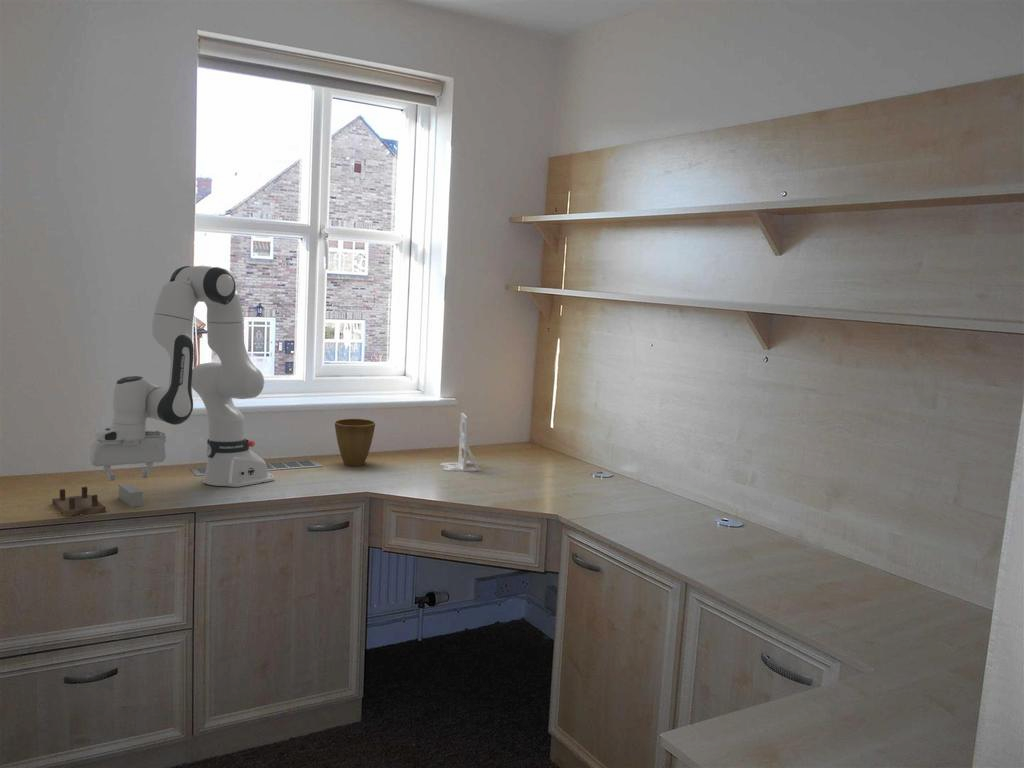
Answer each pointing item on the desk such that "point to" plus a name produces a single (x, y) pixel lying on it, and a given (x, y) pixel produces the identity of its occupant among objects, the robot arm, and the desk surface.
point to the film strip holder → (464, 445)
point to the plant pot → (354, 439)
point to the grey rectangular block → (131, 494)
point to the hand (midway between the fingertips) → (128, 478)
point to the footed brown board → (78, 503)
